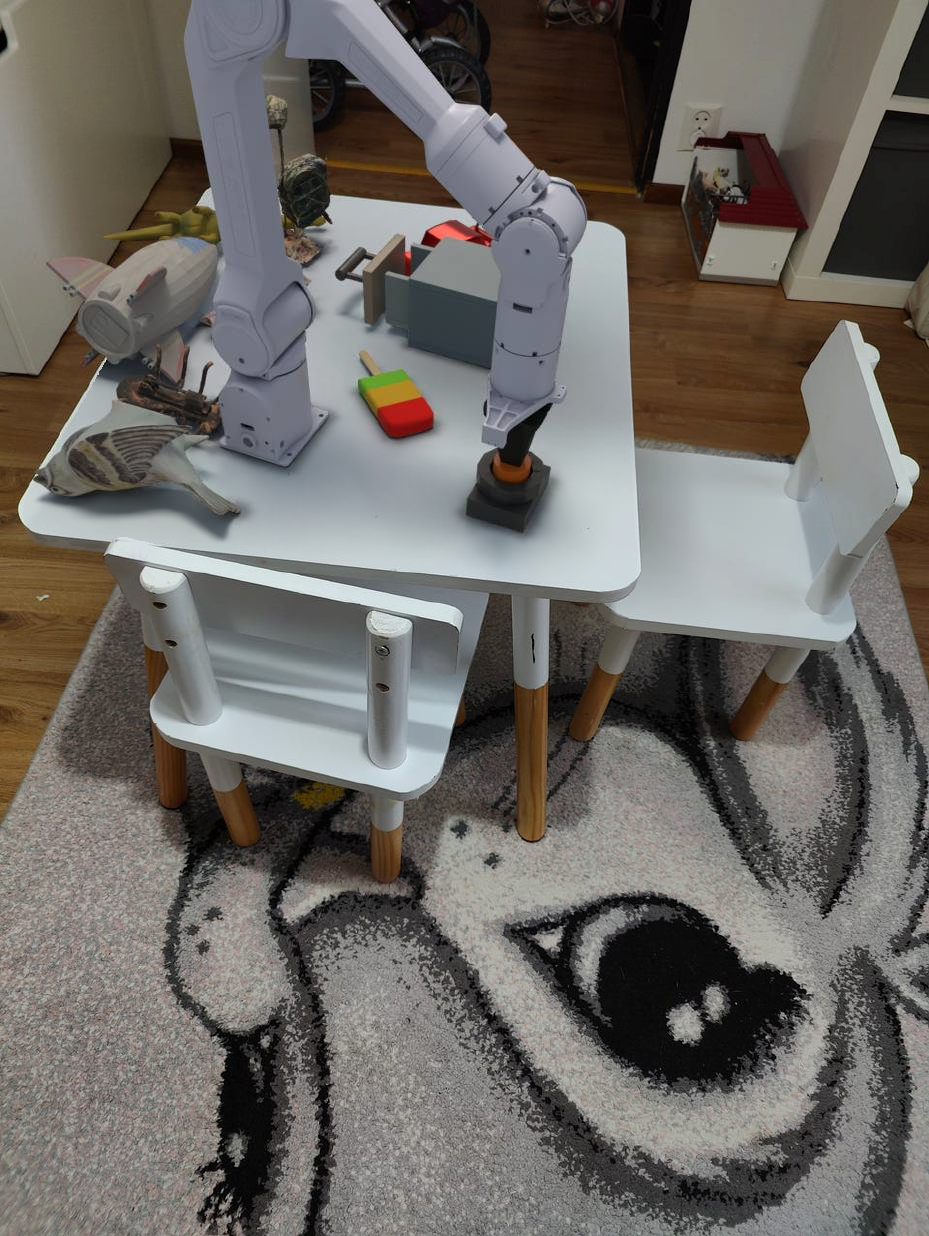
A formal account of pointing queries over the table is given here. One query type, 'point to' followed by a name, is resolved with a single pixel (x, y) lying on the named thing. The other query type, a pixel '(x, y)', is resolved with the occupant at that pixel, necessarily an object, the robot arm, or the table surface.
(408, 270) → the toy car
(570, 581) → the table surface
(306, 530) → the table surface
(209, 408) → the toy
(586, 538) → the table surface
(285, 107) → the plant with pod
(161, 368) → the toy rocket
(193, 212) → the toy
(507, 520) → the control block
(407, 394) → the popsicle
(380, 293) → the drawer
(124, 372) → the table surface
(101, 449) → the figurine
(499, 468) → the button
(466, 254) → the drawer cabinet
